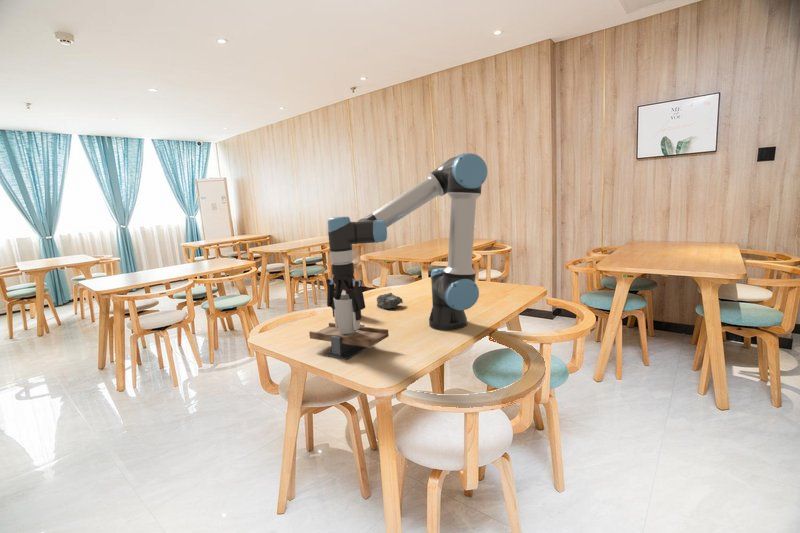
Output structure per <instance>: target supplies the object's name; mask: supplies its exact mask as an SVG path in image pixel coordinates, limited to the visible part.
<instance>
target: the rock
mask: <svg viewBox="0 0 800 533" xmlns="http://www.w3.org/2000/svg"><path fill="white" fill-rule="evenodd" d="M403 303H404V301H403V299H402V297H400V296H397V295H395V294H393V293H392V292H388V293H384V294H379V295H378V296H377V297H376V307H377V308H379V309H380V310H382V309H383V310H390V309H392V308H393V309H397V308H398V305H400V304H403Z"/></svg>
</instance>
